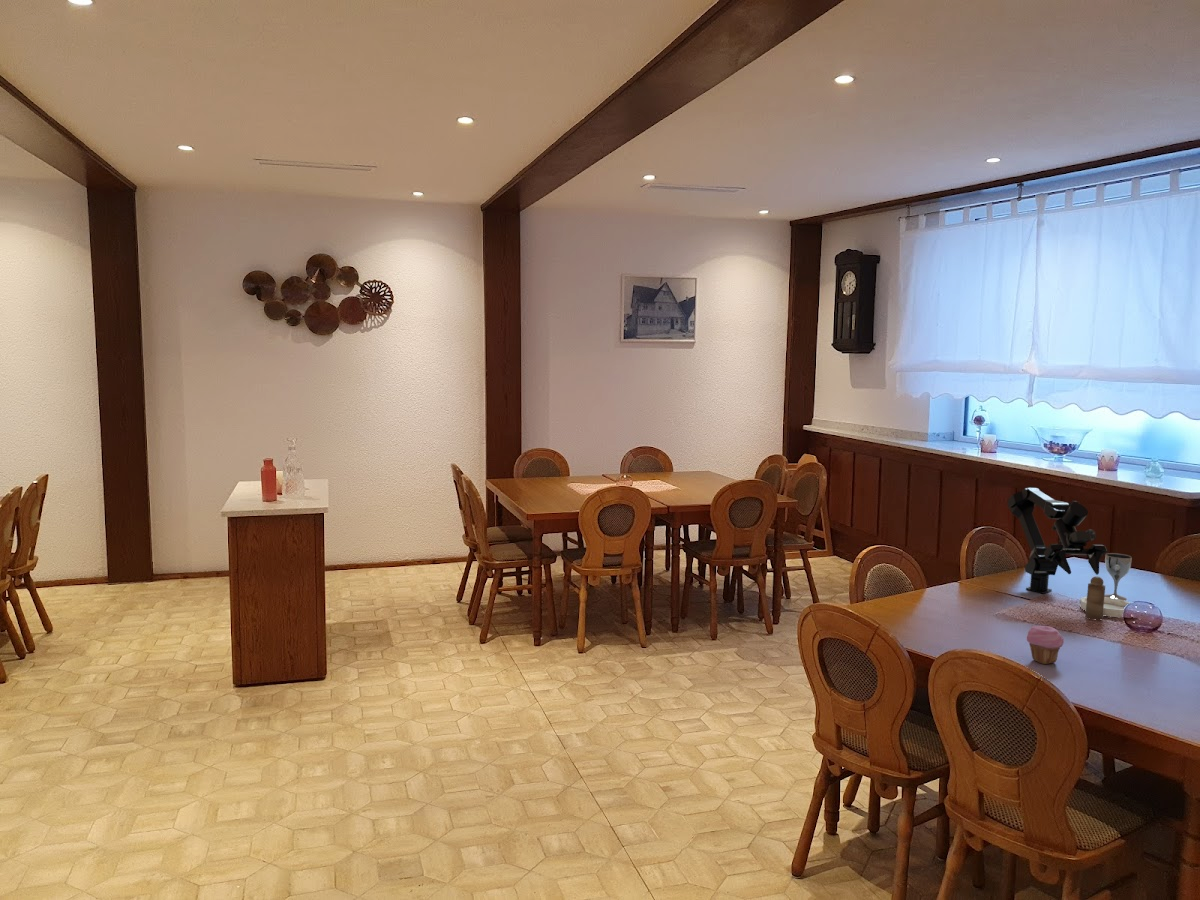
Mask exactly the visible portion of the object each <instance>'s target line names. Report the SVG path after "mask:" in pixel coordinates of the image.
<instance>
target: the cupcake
mask: <svg viewBox="0 0 1200 900" xmlns="http://www.w3.org/2000/svg"><path fill="white" fill-rule="evenodd" d="M1026 641H1027V642H1028V643H1029V647H1030V651H1031V652H1030V653H1031V657H1032V660H1034V661H1035V662H1037V663H1040V664H1042V665H1049V664H1055V663H1056V662H1057V660H1058V655H1059V650H1060V648H1062V647H1063V645H1064V641H1065V640H1064V638H1063V635H1062V634H1061V633H1060V632H1059V630H1058V629H1056V628H1055V627H1052V626H1047V625H1034V626H1031V627H1030V629H1029V630H1028V632H1027V636H1026Z"/></svg>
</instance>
